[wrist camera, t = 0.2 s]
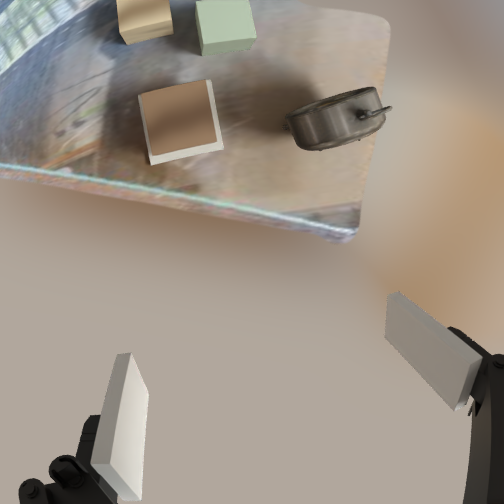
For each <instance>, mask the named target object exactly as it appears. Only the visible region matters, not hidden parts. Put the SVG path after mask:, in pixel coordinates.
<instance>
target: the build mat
mask: <svg viewBox="0 0 504 504" xmlns="http://www.w3.org/2000/svg"><path fill="white" fill-rule="evenodd" d="M206 83H207V89H208V94H209V100H210V105H211V110H212V116H213V121H214V126H215V132H216V137H217V142H215V143H210V144H206V145H201V146H196V147H191V148H187V149H182V150H178V151H174V152H169V153H165V154H161V155H156V156H152V152H151V147H150V142H149V137H148V132H147V126H146V121H145V115H144V110H143V104H142V98H141V95H138V99H139V105H140V111H141V116H142V122H143V127H144V132H145V138H146V143H147V148H148V153H149V158H150V162H151V165H154V164H158V163H163V162H167V161H171V160H175V159H179V158H184V157H188V156H193V155H197V154H202V153H207V152H212V151H217V150H222V149H224V147H223V142H222V137H221V131H220V126H219V121H218V115H217V110H216V104H215V99H214V94H213V88H212V83H211V79H210V80H206Z"/></svg>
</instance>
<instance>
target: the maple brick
mask: <svg viewBox="0 0 504 504" xmlns="http://www.w3.org/2000/svg"><path fill="white" fill-rule="evenodd" d="M117 12H118V22H119V31H120V34H121V36H122V37H123V39H124V41H125V42H126V44H127V45H129V44H133V43H137V42H141V41H145V40H149V39H153V38H157V37H162V36H166V35H171V34H174V33H173V25H172V18H171V12H170V5H169V0H117Z"/></svg>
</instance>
